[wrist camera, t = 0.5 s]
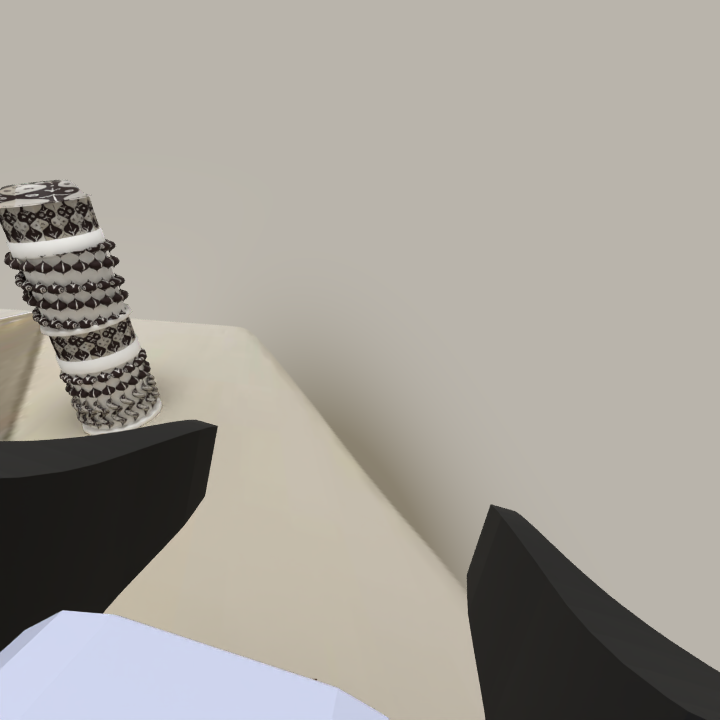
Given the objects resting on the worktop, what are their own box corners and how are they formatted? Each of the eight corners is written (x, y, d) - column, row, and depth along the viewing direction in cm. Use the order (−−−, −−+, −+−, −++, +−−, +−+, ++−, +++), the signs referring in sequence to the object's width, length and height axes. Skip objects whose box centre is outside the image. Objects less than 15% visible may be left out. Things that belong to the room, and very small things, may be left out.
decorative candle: (147, 435, 47) (56, 183, 36) (61, 441, 48) (-55, 193, 36) (177, 391, 55) (111, 174, 44) (104, 396, 56) (20, 182, 45)
